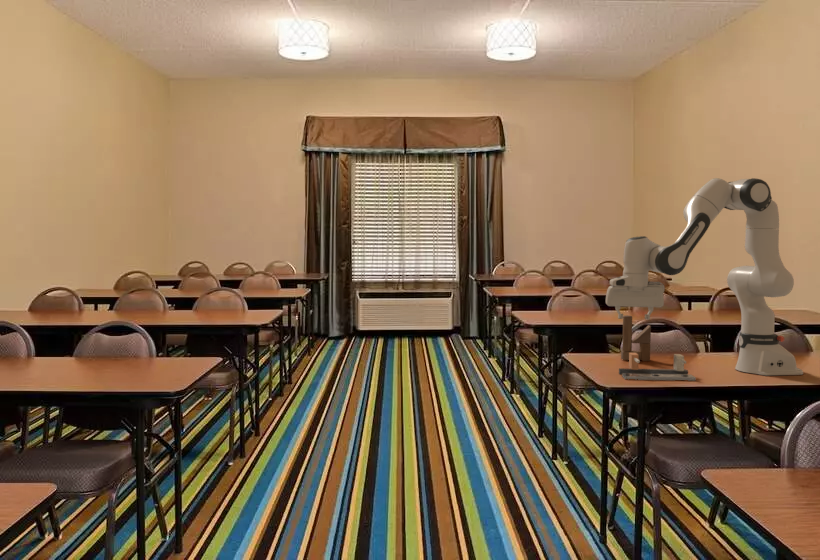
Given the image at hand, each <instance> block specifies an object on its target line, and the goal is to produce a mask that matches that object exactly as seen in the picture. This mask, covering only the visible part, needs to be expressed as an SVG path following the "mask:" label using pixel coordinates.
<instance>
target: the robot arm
mask: <svg viewBox="0 0 820 560" xmlns="http://www.w3.org/2000/svg"><path fill="white" fill-rule="evenodd" d="M771 194H772V192H771V188H770V186H769V184H768V183H767V182H766V181H765V180H763V179H761V178H753V177H752V178H741V179H738V180H734V181H728V182H727V180H724V179H722V178H717V177H715V178H712V179H709V180H708V181H707V182H706V183H705V184H704V185H703V186H701V187H700V188H699V189H698V190H697V191H696V192H695V193H694V195H692V197H691V198H690V199H689V200H688V202H687V203H686V204H685V207H684V208H683V213H682V214H683V219H684V220H685V222H686V223H687V225H686V227H685V228H684V230H683V231H682V232H681V234H680V235H679V236H678V238H677V239H676V240H675V242H673V243H672V244H670V245H668V246H665V245H660V244H658V243H656V242H654V241H652V240H651V239H650V238H648V237H647V236H643V235H642V236H641V235H640V236H634V237H630V238H628V239H627V240H626V241H625V243H624V249H623V258H622V259H623V260H622V261H623V265H624V266H623V271H622V276H619V277H615V278H611V279H610V280H609V286H608V288H607V289H606V295H605V304H606V305H607V306H608V307H614V308H615V311H616V313H617V319H619V320H623V316H624V314H623V313H622V312H621V311H620V310H621V307H626V308H627V307H629V308H630V307H631V308H632V307H634V308H635V307H636V308H648V309H647V310H648V311H647V314H646V313H645V314H644V320H646V321H648V320H650V319H651V314H652V313H653V312H654V308H662V307H664V305H665V298H664V293H665V285H664V283H662V282H661V281H651V280H649V271H651V272H653V273H655V272H656V273H660V274H665V275H668V276H675V275H678V274H680V273H681V272H683V270H685V267H686V265H687V263H688V261H689V257H690V255H691V253H692V252H693V250H694V249H695V247H696V246H697V245H698V243H700V241H701V239H702V238H703V237H704V235H705V233H707V231H708V230H709V227H710V225H711V224H712V223H713V222H714V220H715V219H717V217H718V215H719V214H720V213H721V212H722V211H723V209H726V210H730V211H735V210H736V211H744V213H745V216H746V217H745V218H746V222H745V237H744V238H745V239H744V248H745V249H744V250H745V251H746V253H747V254H749V255H750V256H751V258H752V260H753V263H754V265H741V266H737V267H733V268H731V269H730V271H729V272H728V274H727V277H726V281H727V283H726V284H727V286H728V288H729V289H730V290H731V292H733V294H734V296H735V297H736V299H737V301H738V304H739V308H740V314H741V315H740V316H741V317H740V321H741V322H740V323H741V325H740V326H741V327H740V332H739V339H738V340H739V341H738V344H739V352H738V357H737V361H736V364H735V367H734V369H735V370H737V371H739V372H743V373H747V374H749V373H750V374H754V375H755V374H756V375H760V376H797V375H798V376H799V375H803V374H804V371H803V370H802V369H800V368H799V367H797V360H796V357H795V356H794V354H792V353H791V352H790V351H789V350H787V349H786V348H785V347H783V346H782V345H781V344H780V342H784V340H785V336H783V335H777V334H776V333H775V323H776V322H775V320H776V319H775V318H776V317H775V316H776V315H775V312H774V311H773V309H772V308H771V307H769V305H768V303H767V302H766V299H765V298H779V297H786V296H788V295H789V294H790V293H791V292H792V290H793V288H794V285H795V281H794V276H793V274H792V273H791V272H790V271H789V270H788V269H787V268H786V267H785V266H784V263H783V261H782V258H781V256H780V255H781V254H780V250H779V243H780V242H779V240H780V239H779V237H780V234H779V233H780V215H779V207H778V204H777V202H775V200H773V199H772V198H773V197H772V195H771Z"/></svg>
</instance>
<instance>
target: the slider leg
mask: <svg viewBox="0 0 820 560" xmlns="http://www.w3.org/2000/svg"><path fill="white" fill-rule="evenodd" d="M638 357H639V355H638V354H637V353H629V361H628V369H631V370H638V369H639V364H640V362H641V361H640V360H638Z"/></svg>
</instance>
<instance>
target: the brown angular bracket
mask: <svg viewBox="0 0 820 560" xmlns="http://www.w3.org/2000/svg"><path fill="white" fill-rule="evenodd" d="M651 331H652V326H651V325H649V324H648V325H647V326H646V327H644V329H643V330H642V331H640V333H638V334H637V335H636V336H635V337H634V338H633V315H623V319H622V346H621V347H622V350H621V352H620V356H621V357H620V359H621V360H622V359H623V360H629V353H637V354H638V355H639V357H638V360H643V361H642V362H650V361H651V340H652V339H651V338H652V337H651V334H652V332H651ZM632 344H639V350H633V349H632V347H633V345H632ZM623 360H622V361H623Z"/></svg>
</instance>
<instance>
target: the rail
mask: <svg viewBox="0 0 820 560" xmlns="http://www.w3.org/2000/svg"><path fill="white" fill-rule="evenodd" d="M686 364H687V360H685V355H683V354H682V353H681V354H680V353H673V367H672V368H667V369H666V368H638V370H631V369H630V368H618V374H619V375H622V373H631V374H688V373H689V370H688V369H685V367H684V366H685V365H686Z"/></svg>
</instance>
